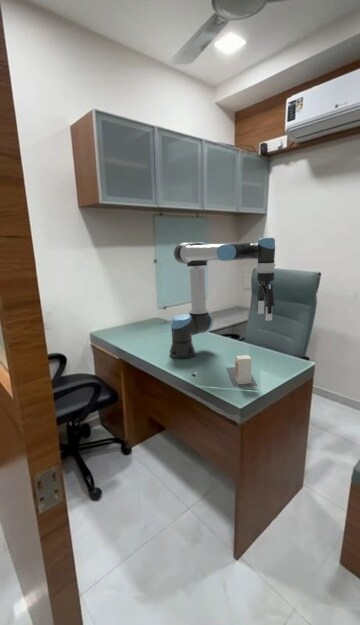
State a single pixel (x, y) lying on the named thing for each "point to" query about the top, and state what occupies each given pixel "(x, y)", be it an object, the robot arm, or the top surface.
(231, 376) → the mat
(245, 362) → the card box
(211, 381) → the top surface
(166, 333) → the top surface
